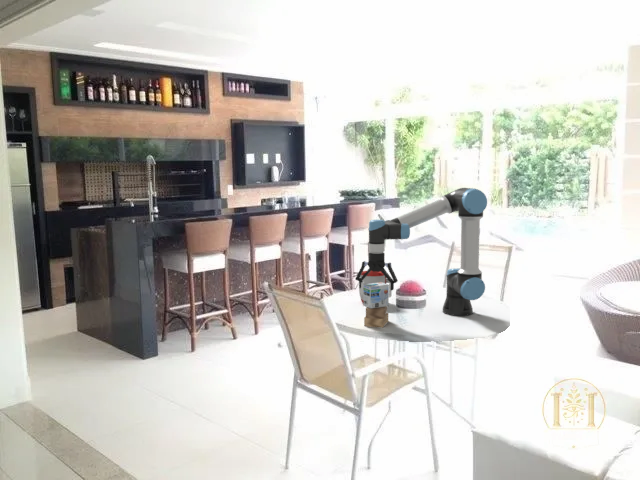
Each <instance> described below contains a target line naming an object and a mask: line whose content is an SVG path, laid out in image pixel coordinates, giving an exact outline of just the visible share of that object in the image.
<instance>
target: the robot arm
mask: <svg viewBox="0 0 640 480" xmlns="http://www.w3.org/2000/svg"><path fill="white" fill-rule="evenodd" d="M487 206H488V198H487V195H486V194H485V193H484V192H483V191H482V190H480V189H477V188H473V187H472V188H471V187H461V188H457V189H455V190H453V191H450V192H448V193H447V194H444V195H442V196H441V198H440V199H438V200H436V201H435V200H434V201H432V202H431V203H428V204H425V205H423V206H421V207H419V208H416V209H414V210H411V211H409V212H407V213H404V214H402V215H400V216H397V217H395V218H393V219H386V220H384V219H371V220H369V222H368V251H369V252H368V262H367V261H366V260H364V261H362V262H361V267H360V269H359V271H358V273H357V274H356V277H355V281H358V289H359V288H361V295H364V281H362V280H363V279H364V278H365V277H366V276H367V275H368V274H369V272H370V271H371V270H372V271H373V272H375V271H377V272H380V271H381V272H382V273H383V274H384V276H385V277H386V279H388V281H389V282H390V283H388V285H389V298H391V297H392V291H394V289H395V288H394V287H395V286H394V285H395V284H396V283H398V279H397V278H398V277H397V275H396V273H395V272H394V270H393V267H392V263H391V262H386V261H385V241H386V240H401V241H402V240H407V239H409V238H410V235H411V228H414V227H416V226H419V225H420V224H423V223H426V222H428V221H430V220H433V219H436V218H438V217H439V216H443V215H445V214H448V215H449V214H453V213H456V212H458V213H457V214H458V215H457V216H458V218H459V219H460V220H461V224H460V226H461V229H460V231H461V233H460V268H449V269H447V271H446V298H445V301H444V303H443V306H442V313H443V314H444V315H445V314H446V315H450V316H457V317H458V316H459V317H462V316H470V315H473V313H474V312H473V309H474V308H473V306H472V302H471V301H476V300H478V299H480V298H481V297H482V296H483V295H484V293H485V291H486V284H485V281H484V280H483V277H482V275H483V274H482V273H483V272H482V270H480V267H479V265H480V264H479V263H480V221H481V219H482V218H483V217H484V211H485V210H486V209H487ZM367 266H368V269H367V270H366V271H367V272H366V273H365V274H364V275H363V276H362V277H361V278H360V276H361V274H362V272H363V271H365V268H366V267H367ZM385 267H386V268H387V269H388V272H389V273H388V272H387V270H386V268H385Z"/></svg>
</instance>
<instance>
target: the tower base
mask: <svg viewBox="0 0 640 480" xmlns="http://www.w3.org/2000/svg"><path fill="white" fill-rule="evenodd" d="M363 321H364V322H363V323H364V324H363V325H364V327H369V328H370V327H371V328H381V329H383V328H384V327H385V326H386V324H387V323H388V322H389V312H387V314H386V317H385V319H375V318H366V316H365V317H364V319H363Z"/></svg>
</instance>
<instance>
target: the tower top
mask: <svg viewBox="0 0 640 480" xmlns="http://www.w3.org/2000/svg"><path fill="white" fill-rule="evenodd" d="M387 313H388V306H386V307H379V308H371V309H370V308H368V307H366V308H365V317H366V318H375V319H385V317H386V314H387Z"/></svg>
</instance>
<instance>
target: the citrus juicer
mask: <svg viewBox="0 0 640 480" xmlns="http://www.w3.org/2000/svg"><path fill="white" fill-rule="evenodd" d="M366 272H367V270H363V272H362V274H361V276H360V278H361V277H362V276H363V275H364V274H365V273H366ZM362 281H364V284H371V283H379V282H382V283H385V284H389V283H390V282H389V281H388V279H387V278H386V277H385V276H384V274H383V273H382V272H381V271H380V272H377V271H375V272H373V271H372V270H371V271H370V272H369V274H368V275H367V276H366V277H365V278H364V279H363V280H362ZM358 292H359V298H360V302H361V303H362V304H364V295H361V288H359V287H358Z"/></svg>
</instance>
